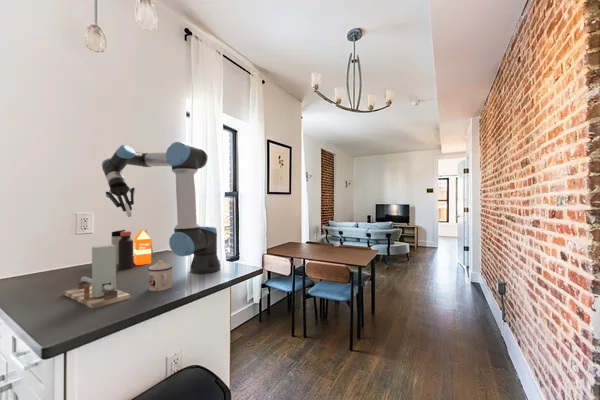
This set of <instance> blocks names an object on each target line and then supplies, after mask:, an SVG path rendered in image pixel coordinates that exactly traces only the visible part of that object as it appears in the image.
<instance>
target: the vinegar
mask: <svg viewBox="0 0 600 400" xmlns="http://www.w3.org/2000/svg"><path fill="white" fill-rule="evenodd" d="M120 235H121V239H120V240H119V242H118V251H119V266H118V270H120V271H121V270H122V271H123V270H124V271H126V270H130V269H133V268H134V239H132V238H131V237H132V231H131V230H125V231H123V232H120Z"/></svg>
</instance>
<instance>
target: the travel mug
mask: <svg viewBox="0 0 600 400" xmlns="http://www.w3.org/2000/svg"><path fill="white" fill-rule="evenodd" d="M123 231H126V230H125V229H121V230H116V231H112V232H111V245H116V267H119V251H118V242H119V240H120V239H121V235H120V232H123Z"/></svg>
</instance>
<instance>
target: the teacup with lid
mask: <svg viewBox="0 0 600 400" xmlns="http://www.w3.org/2000/svg"><path fill="white" fill-rule="evenodd" d="M172 270H173V265H172V264H169V263H167V262H164V260H163V259H161V260H158V261H157V262H156V263H154V264H153V265H150V266H149V267H148V290H149V291H151V292H161V291H167V290H169V289H171V288H172V286H173V283H172V282H173V281H172V279H173V276H172V275H173V273H172V272H173V271H172Z"/></svg>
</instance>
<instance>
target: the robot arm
mask: <svg viewBox="0 0 600 400" xmlns="http://www.w3.org/2000/svg"><path fill="white" fill-rule="evenodd" d="M208 161H209V156H208V153H207V152H206V150H205V149H204V148H202V147H201V146H199V145H198V146H197V145H194V144H190V143H188V142H184V141H183V142H182V141H174V142H173V143H171V144H170V146H168V148H167V149H166V151H165V152H138V151H135V150H134V148H133V147H132V146H129V145H127V144H121V145H120V146H119V147H118V148H117V149H116V150H115V152H114V153H113V155H112V156H111V157H110V158H106V159H104V160H103V161H102V163H101V167H102V171H103V174H104V176H105V177H106V178H105V179H106V181H107V184H108V186H109V191H105V196H106V197H107V198H108V199H110V201H111V202H112V203H113V204H114V205H115V206H116V208H121V209H122V211H123V212H124V213H126V216H127V218H131V217H132V210H133V207H132V205H133V206H134V204H135V200H134V199H135V198H134V194H135V192H136V189H135V187H129V186H128V184H127V181H126V180H125V177H124V175H123V170H124V169H125V167H126V166H127V165H129V166H138V167H143V168H151V167H171V172H172V173H173V174H175V191H176V192H175V194H176V217H177V220H176V222H177V223H176V226H175V227H174V228H173V230H174V232H173V233H172V234H171V236H170V237H169V240H168V243H169V244H168V245H169V248H170V250H171V251H172V252H173V253H174V254H175V255H176V256H178V257H188V256H191V255H193V257H192V261H191V263H190V266H189V267H190V268H189V272H190V273H193V274H209V273H210V274H211V273H215V272H218V271H220V270H221V263H220V260H219V257H218V242H217V241H218V232H217V228H216V227H214V226H204V225H203V226H200V225H199V224H198V223H197V221H198V220H197V202H196V199H197V198H196V197H197V196H196V179H195V176H196V173H197V172H198V171H199V170H200V169H203V168H204V167H205V166H206V165H207V163H208ZM128 193H130V199H129V197H128ZM115 196H116V197H117V198H116V197H115ZM122 197H123V198H122ZM123 199H124V200H125V201H124V200H123ZM124 202H125V203H124Z"/></svg>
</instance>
